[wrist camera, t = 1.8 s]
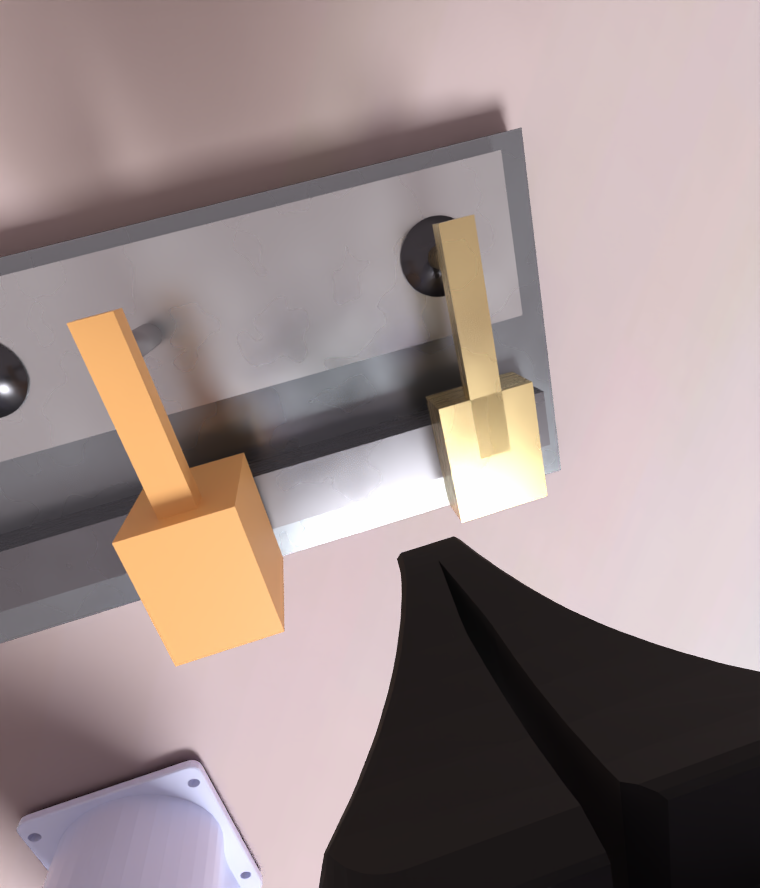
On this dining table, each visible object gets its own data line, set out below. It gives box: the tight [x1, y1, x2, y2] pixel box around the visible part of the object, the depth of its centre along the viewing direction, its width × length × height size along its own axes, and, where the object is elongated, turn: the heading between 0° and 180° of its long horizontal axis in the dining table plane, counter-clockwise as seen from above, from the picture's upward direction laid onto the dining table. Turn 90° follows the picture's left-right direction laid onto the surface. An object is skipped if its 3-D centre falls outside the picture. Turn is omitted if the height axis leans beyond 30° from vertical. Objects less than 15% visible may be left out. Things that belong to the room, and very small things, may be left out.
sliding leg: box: [66, 308, 284, 666], centre depth 14 cm, size 9×3×4 cm, turn 14°
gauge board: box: [0, 128, 561, 643], centre depth 16 cm, size 12×29×4 cm, turn 103°
